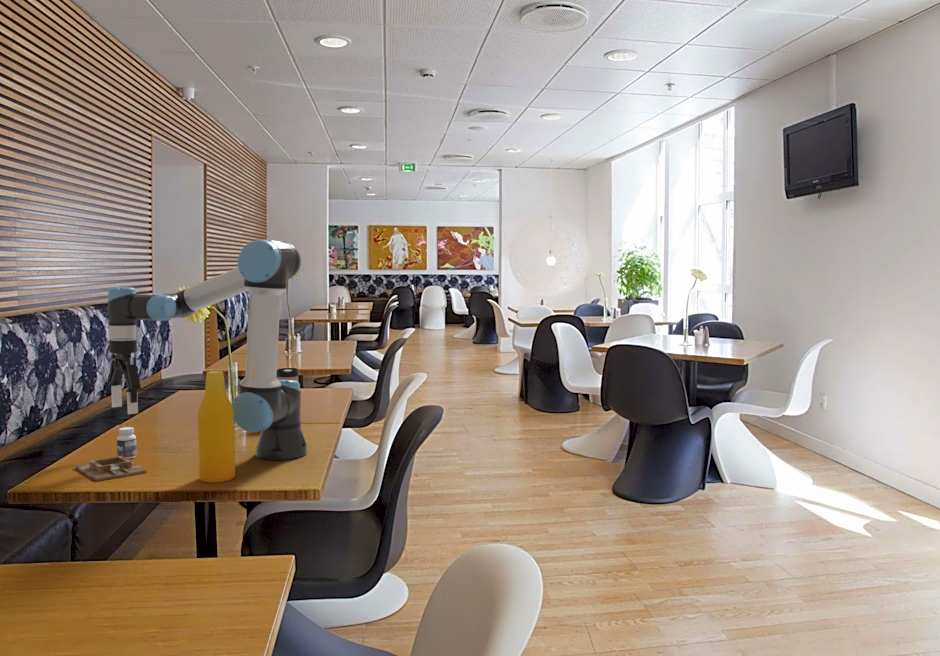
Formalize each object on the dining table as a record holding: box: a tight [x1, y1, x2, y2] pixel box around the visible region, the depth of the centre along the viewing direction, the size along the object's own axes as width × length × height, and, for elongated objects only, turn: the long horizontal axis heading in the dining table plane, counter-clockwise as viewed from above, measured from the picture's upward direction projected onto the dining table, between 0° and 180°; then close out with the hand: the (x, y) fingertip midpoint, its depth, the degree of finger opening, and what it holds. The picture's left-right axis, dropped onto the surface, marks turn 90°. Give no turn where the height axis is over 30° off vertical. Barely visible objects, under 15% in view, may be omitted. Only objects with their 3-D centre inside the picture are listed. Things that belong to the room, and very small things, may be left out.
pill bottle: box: [116, 426, 137, 460], centre depth 227 cm, size 5×5×9 cm
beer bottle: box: [197, 370, 236, 484], centre depth 204 cm, size 9×9×29 cm
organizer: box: [75, 456, 147, 482], centre depth 213 cm, size 18×13×3 cm
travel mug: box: [276, 367, 299, 382], centre depth 277 cm, size 8×8×20 cm
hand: (124, 410), depth 226 cm, fingers open, 13 cm apart
